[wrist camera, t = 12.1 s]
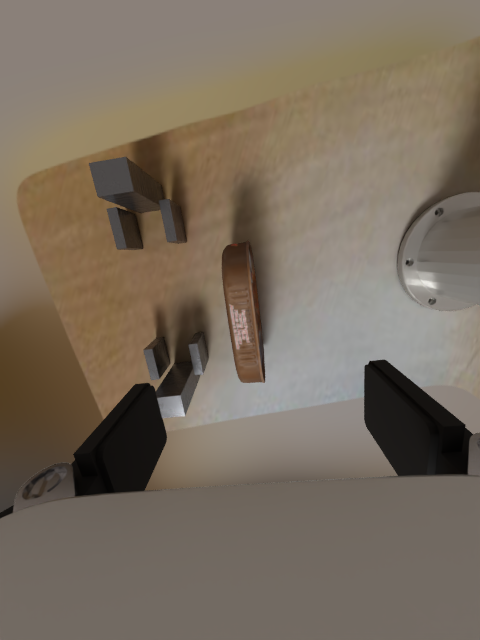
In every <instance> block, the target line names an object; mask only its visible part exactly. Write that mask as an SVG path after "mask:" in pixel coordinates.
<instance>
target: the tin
mask: <svg viewBox="0 0 480 640" xmlns="http://www.w3.org/2000/svg"><path fill="white" fill-rule="evenodd" d="M222 278H223V288H224V295H225V302H226V309H227V316H228V323H229V329H230V336H231V342H232V348H233V354H234V360H235V366H236V370H237V374H238V377H239V379H240V381H241V382H243V383H253V382H263V383H265V364H264V347H263V339H262V328H261V320H260V311H259V302H258V293H257V284H256V276H255V269H254V261H253V255H252V250H251V245H250V242H249V241H247V242H244V243H238V244H231V245H228V246H226V248H225V249H224V251H223V254H222Z"/></svg>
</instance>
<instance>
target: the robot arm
mask: <svg viewBox="0 0 480 640" xmlns="http://www.w3.org/2000/svg"><path fill="white" fill-rule="evenodd" d="M397 267H398V276H399V279H400V282H401V285H402V287H403V288H404V290H405V292H406V293H407V294H408V295H409V296H410V297H411V298H412V299H413V300H414V301H416V302H417V303H419V304H420V305H422V306H425V307H428V308H431V309H435V310H439V311H457V310H462V309H466V308H469V307H472V306H474V305H480V192H467V193H462V194H458V195H454V196H451V197H448V198H446V199H443V200H441V201H439V202H437V203H436V204H434V205H432V206H431V207H429V208H428V209H427V210H426V211H424V212H423V213H422V214H421V215H420V216H419V217H418V218H417V219H416V220H415V221H414V222H413V224H412V225H411V227H410V228H409V230H408V231H407V233H406V235H405V237H404V239H403V241H402V243H401V246H400V250H399V254H398V263H397ZM364 405H365V406H364V420H365V424H366V427H367V429H368V430H369V431H370V433H371V435H372V436H373V438H374V439H375V441H376V442H377V444H378V445H379V447H380V448H381V450H382V451H383V453H384V455H385V456H386V458H387V459H388V461H389V462H390V464H391V465H392V467H393V468H394V470H395V471H396V473H397V475H398V476H388V477H371V478H370V477H369V478H350V479H334V480H333V479H332V480H314V481H296V482H279V483H264V484H263V483H262V484H245V485H229V486H212V487H196V488H180V489H164V490H149V491H144V490H145V488H146V486H147V484H148V482H149V479H150V477H151V475H152V473H153V470H154V468H155V466H156V464H157V461H158V459H159V457H160V455H161V453H162V450H163V448H164V446H165V444H166V440H167V435H166V430H165V427H164V423H163V419H162V415H161V411H160V407H159V404H158V400H157V396H156V392H155V389H154V387H153V386H151V385H150V384H149V383H143V384H135V385H134V386H133V387H132V388H131V389H130V391H129V392H128V393H127V394H126V395H125V396H124V397H123V399H122V400H121V401H120V402H119V403H118V404H117V405H116V406H115V408H114V409H113V410H112V411H111V412H110V413H109V414H108V416H107V417H106V418H105V419H104V420H103V421H102V422H101V424H100V425H99V426H98V427H97V428H96V429H95V430H94V431H93V433H92V434H91V435H90V436H89V437H88V438H87V439H86V440H85V442H84V443H83V444H82V445H81V446H80V447H79V448H78V450H77V451H76V452H75V453H74V454H73V455H74V457H75V461H74V462H73V463H72V464H69V463H57V464H54V465H51V466H49V467H47V468H45V469H43V470H41V471H39V472H38V473H36V474H35V475H34V476H32V477H31V478H30V479H29V480H27V481H26V482H25V483H24V484H23V485H22V487H21V488H20V489H19V491H18V492H17V495H16V497H15V502H14V505H13V506H11V507H10V508H8V509H6V510H4V511H3V512H1V513H0V640H480V433H476V434H474V435H473V434H472V433H471V432H470V431H469V430H467V429H466V428H465V424H464V423H462V422H461V421H460V420H459V419H457V418H456V417H455V416H454V415H453V414H451V413H450V412H449V411H448V410H446V409H445V408H444V407H443V406H441V405H440V404H439V403H438V402H437V401H435V400H434V399H433V398H431V397H430V396H429V395H428V394H427V393H425V392H424V391H423V390H422V389H421V388H419V387H418V386H417V385H416V384H414V383H413V382H412V381H411V380H410V379H408V378H407V377H406V376H405V375H403V374H402V373H401V372H400V371H398V370H397V369H396V368H395V367H394V366H392V365H391V364H390V363H389V362H387V361H386V360H376V361H370V362H369V364H368V365H365V379H364Z"/></svg>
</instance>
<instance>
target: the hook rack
mask: <svg viewBox="0 0 480 640" xmlns="http://www.w3.org/2000/svg"><path fill="white" fill-rule="evenodd" d="M89 166H90V170H91V173H92V177H93V181H94V185H95V189H96V192H97V196H98V197H99V198H102V199H105V200H107V201H110V202H112V203H115V204H118V205H120V206H123V207H126V208H128V209H131V210H134V211H136V212H139V213H144V212H150V211H156V210H161V214H162V219H163V223H164V228H165V233H166V238H167V242H170V243H178V244H179V243H186V242H187V241H186V235H185V230H184V225H183V219H182V214H181V208H180V206H178V205H177V204H175V203H174V202H173V201H171V200H170V199H166V200H164V195H163V190H162V185H161V184H159V183H158V182H157V181H156V180H154V179H153V178H152V177H151V176H149V175H148V174H147V173H145V172H144V171H143V170H142V169H140V168H139V167H138V166H137V165H135V164H134V163H133V162H132V161H130V160H129V159H128V158H127V157H122V158H116V159H110V160H105V161H99V162H93V163H89ZM107 212H108V216H109V220H110V224H111V227H112V231H113V235H114V239H115V243H116V247H117V249H120V250H138V249H143V246H142V241H141V237H140V233H139V228H138V224H137V220H136V215H135V214H134V213H131V212H129V211H126V210H123V209H120V208H117V207H115V208H109V209H107ZM189 350H190V355H191V359H192V361H190V362H182V363H174V365H173V366H172V368H171V369H170V371H169V372H168V374H167V375H166V377H165V379H164V380H163V382H162V383H161V385H160V386H159V388H158V389H157V391H156V396H157V400H158V404H159V407H160V411H161V415H162V418H169V417H179V416H185V415H186V412H187V410H188V407H189V404H190V402H191V399H192V396H193V394H194V391H195V388H196V386H197V383H198V380H199V378H200V374H203V373H204V371H205V368H206V365H207V362H208V354H207V349H206V343H205V338H204V333H203V332H201V333H196V334H195V335H194V337H193V338H192V340H191V341H190V343H189ZM144 354H145V358H146V362H147V366H148V369H149V373H150V377H151V380H155V379H160V378H161V376H162V375H163V373H164V372H165V370H166V369H167V367H168V366H169V365H170V362H169V357H168V353H167V349H166V344H165V340H164V337H160V338H156V339H155V340H154V341H152V342H151V343H150V344H149V345H148V346H147V347H146V348H145V349H144Z"/></svg>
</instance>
